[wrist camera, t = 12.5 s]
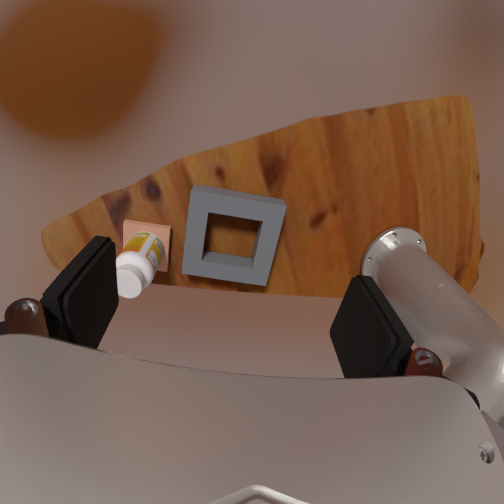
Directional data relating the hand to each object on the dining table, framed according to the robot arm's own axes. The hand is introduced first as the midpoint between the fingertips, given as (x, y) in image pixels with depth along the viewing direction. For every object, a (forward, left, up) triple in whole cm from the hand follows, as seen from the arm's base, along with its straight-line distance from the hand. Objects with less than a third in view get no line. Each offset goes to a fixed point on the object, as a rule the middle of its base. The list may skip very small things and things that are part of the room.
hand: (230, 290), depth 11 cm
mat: (+11, +14, -28) cm, 33 cm away
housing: (-1, +10, -28) cm, 30 cm away
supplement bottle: (+11, +14, -27) cm, 32 cm away
